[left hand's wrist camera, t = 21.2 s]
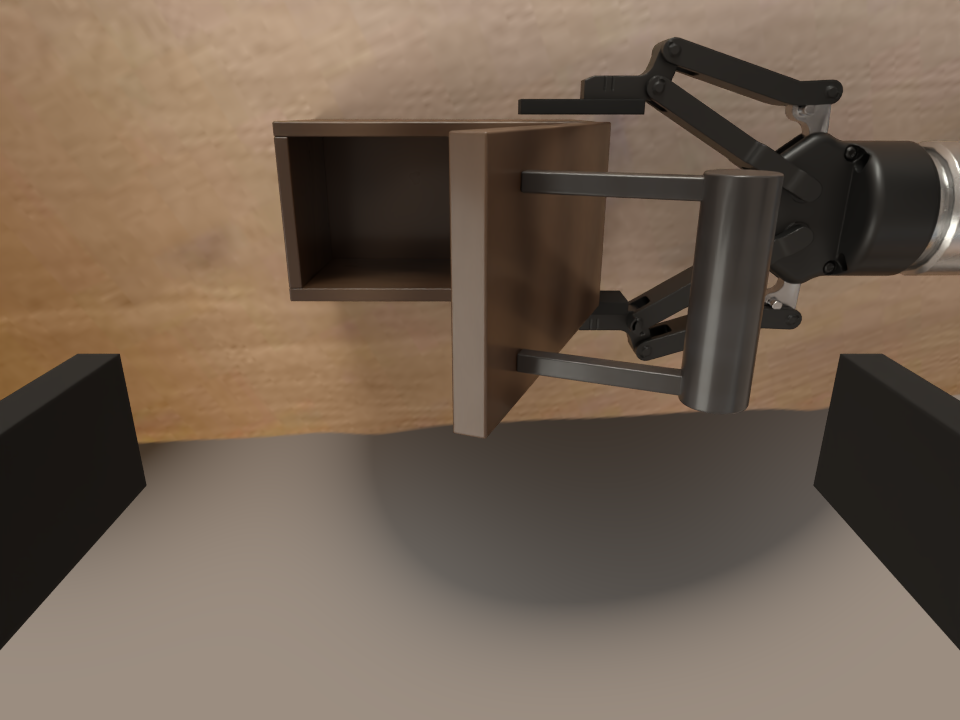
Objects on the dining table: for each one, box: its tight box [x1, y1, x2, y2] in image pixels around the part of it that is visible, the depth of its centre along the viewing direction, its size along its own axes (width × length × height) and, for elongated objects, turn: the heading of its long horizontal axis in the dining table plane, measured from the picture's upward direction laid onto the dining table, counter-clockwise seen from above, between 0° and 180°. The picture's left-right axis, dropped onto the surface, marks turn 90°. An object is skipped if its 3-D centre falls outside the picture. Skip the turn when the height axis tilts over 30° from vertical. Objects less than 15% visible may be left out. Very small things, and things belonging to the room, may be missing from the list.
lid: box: [449, 122, 784, 439], centre depth 26 cm, size 17×10×9 cm
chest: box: [272, 119, 592, 301], centre depth 40 cm, size 17×10×9 cm, turn 90°
